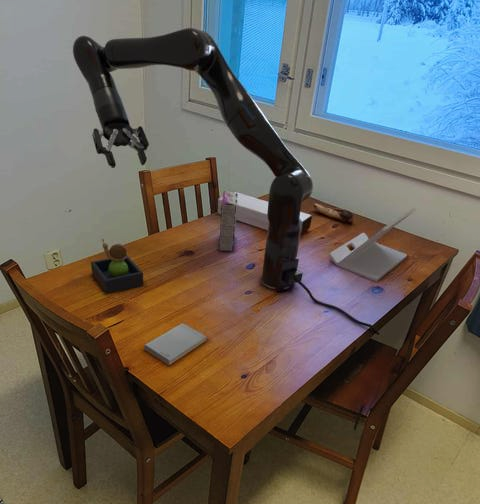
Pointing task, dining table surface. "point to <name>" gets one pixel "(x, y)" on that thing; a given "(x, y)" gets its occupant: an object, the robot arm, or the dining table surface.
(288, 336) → the dining table surface
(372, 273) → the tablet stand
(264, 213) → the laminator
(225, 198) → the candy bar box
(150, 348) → the hard drive
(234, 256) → the dining table surface
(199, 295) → the dining table surface
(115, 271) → the snail figurine
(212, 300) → the dining table surface
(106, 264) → the holder
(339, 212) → the wooden log
